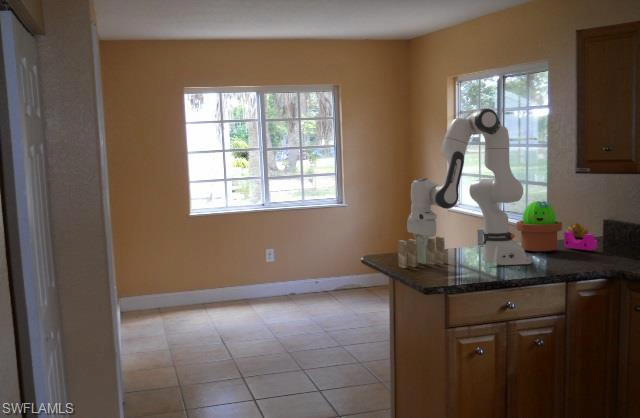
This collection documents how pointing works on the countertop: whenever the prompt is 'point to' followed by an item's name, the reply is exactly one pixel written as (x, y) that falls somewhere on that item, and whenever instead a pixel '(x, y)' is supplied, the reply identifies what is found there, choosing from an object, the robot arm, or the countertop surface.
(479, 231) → the medicine box
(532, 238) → the potted cactus
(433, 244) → the domino
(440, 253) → the domino
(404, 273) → the countertop surface
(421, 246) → the sage domino
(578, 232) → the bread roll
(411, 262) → the domino
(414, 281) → the countertop surface
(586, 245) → the magenta tape dispenser
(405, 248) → the domino far end
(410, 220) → the robot arm
